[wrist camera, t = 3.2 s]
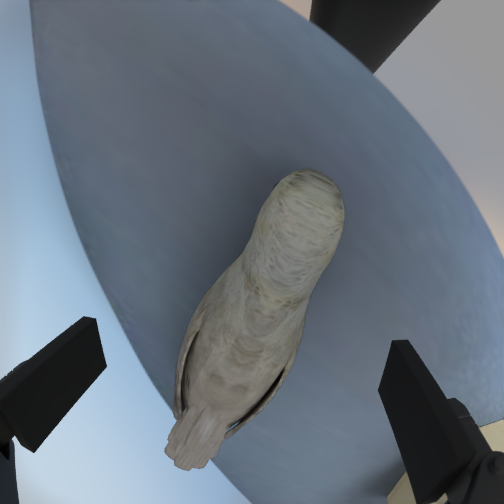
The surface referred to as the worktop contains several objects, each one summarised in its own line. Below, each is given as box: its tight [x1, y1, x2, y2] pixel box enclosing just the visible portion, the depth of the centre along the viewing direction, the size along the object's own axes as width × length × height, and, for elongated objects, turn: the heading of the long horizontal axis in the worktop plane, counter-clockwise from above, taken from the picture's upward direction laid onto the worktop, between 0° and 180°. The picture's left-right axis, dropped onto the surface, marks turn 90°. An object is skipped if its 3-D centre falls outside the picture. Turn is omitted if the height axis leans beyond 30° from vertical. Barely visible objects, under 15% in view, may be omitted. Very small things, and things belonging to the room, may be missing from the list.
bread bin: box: [387, 419, 504, 504], centre depth 16 cm, size 13×12×9 cm
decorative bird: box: [165, 169, 345, 471], centre depth 14 cm, size 5×16×7 cm, turn 156°
